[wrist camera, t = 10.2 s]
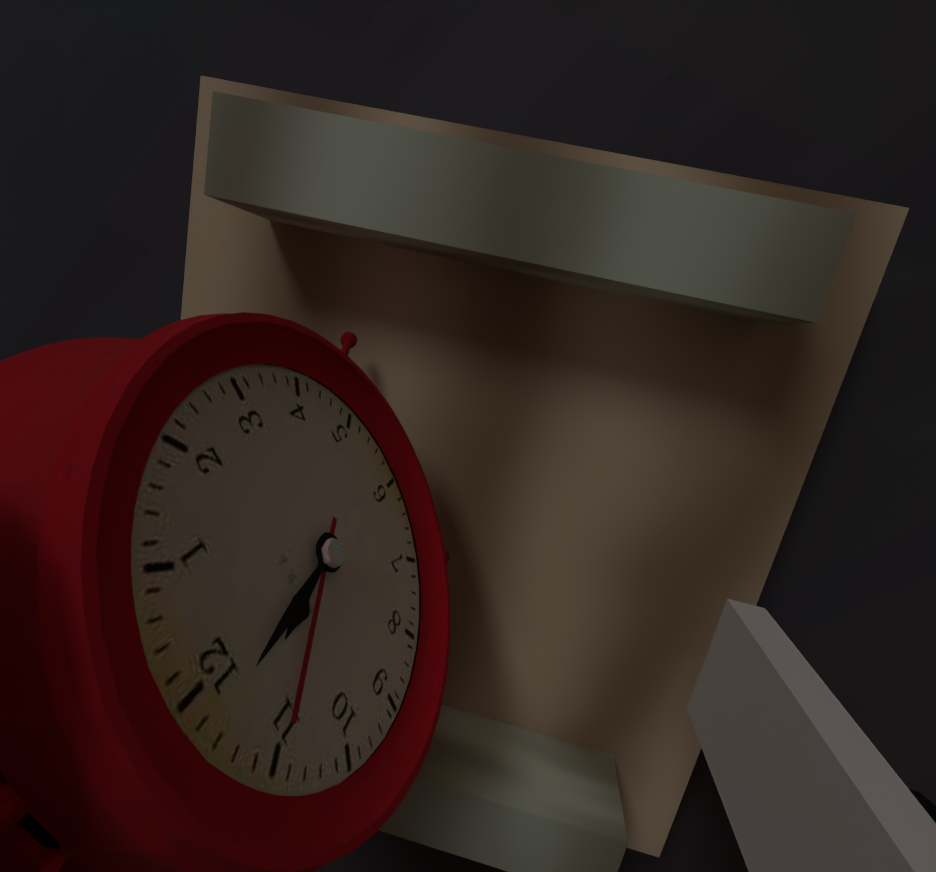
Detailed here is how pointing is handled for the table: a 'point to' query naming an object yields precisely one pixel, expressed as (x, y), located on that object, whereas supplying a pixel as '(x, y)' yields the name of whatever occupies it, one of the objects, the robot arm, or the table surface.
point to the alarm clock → (210, 602)
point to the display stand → (553, 420)
